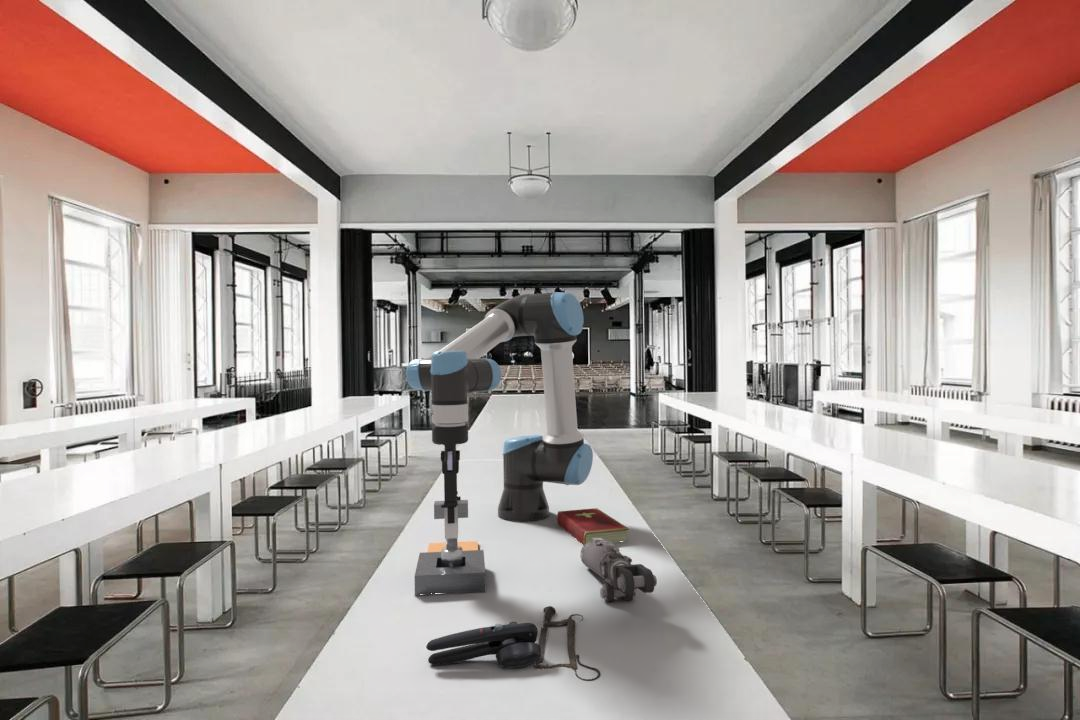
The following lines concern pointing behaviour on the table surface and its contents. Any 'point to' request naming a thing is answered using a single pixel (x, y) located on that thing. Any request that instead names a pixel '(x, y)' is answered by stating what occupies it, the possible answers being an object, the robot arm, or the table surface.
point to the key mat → (465, 545)
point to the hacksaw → (571, 632)
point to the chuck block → (450, 574)
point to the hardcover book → (591, 525)
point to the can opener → (490, 645)
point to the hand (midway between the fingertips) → (451, 534)
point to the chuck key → (452, 551)
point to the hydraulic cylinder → (616, 570)
